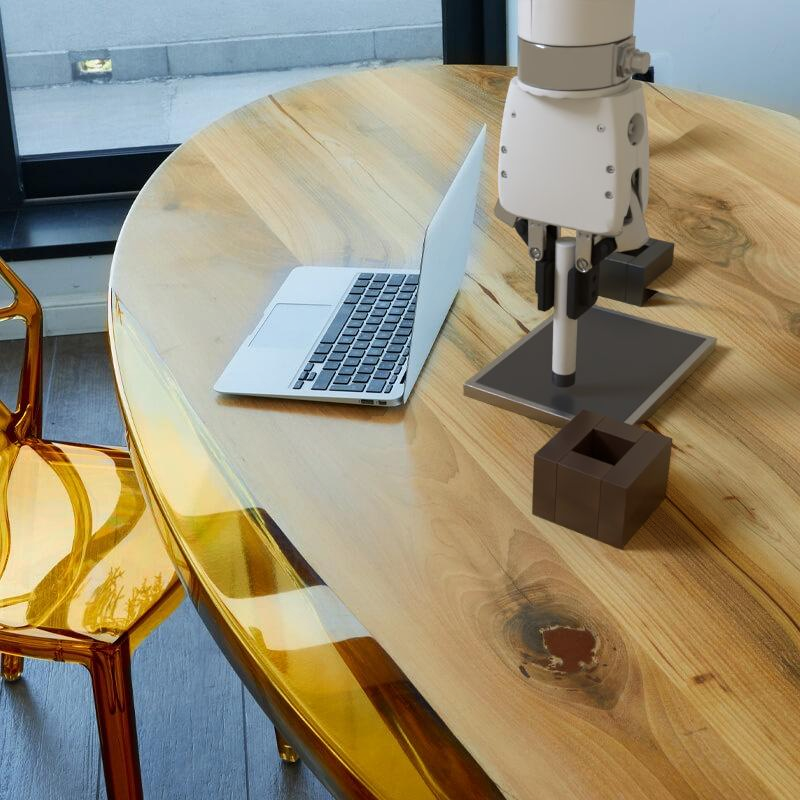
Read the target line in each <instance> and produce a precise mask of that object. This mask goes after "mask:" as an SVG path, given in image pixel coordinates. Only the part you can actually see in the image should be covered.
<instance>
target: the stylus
mask: <svg viewBox="0 0 800 800" xmlns="http://www.w3.org/2000/svg"><path fill="white" fill-rule="evenodd" d="M575 250H576V236H570V235H569V236H568V235H567V236H561V237H560V238H558V239H557V240H556V244H555V282H554V306H553V313H554V321H553V359H552V383H553V384H554V385H555V386H557V387H563V388H565V387H570V386H572V385H574V383H575V375H576V343H577V319H576V320H573V319H569V318H568V316H567V315H566V307H567V276H568V271H569V270H570V269H571V268H573V267H574V266H575Z"/></svg>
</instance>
